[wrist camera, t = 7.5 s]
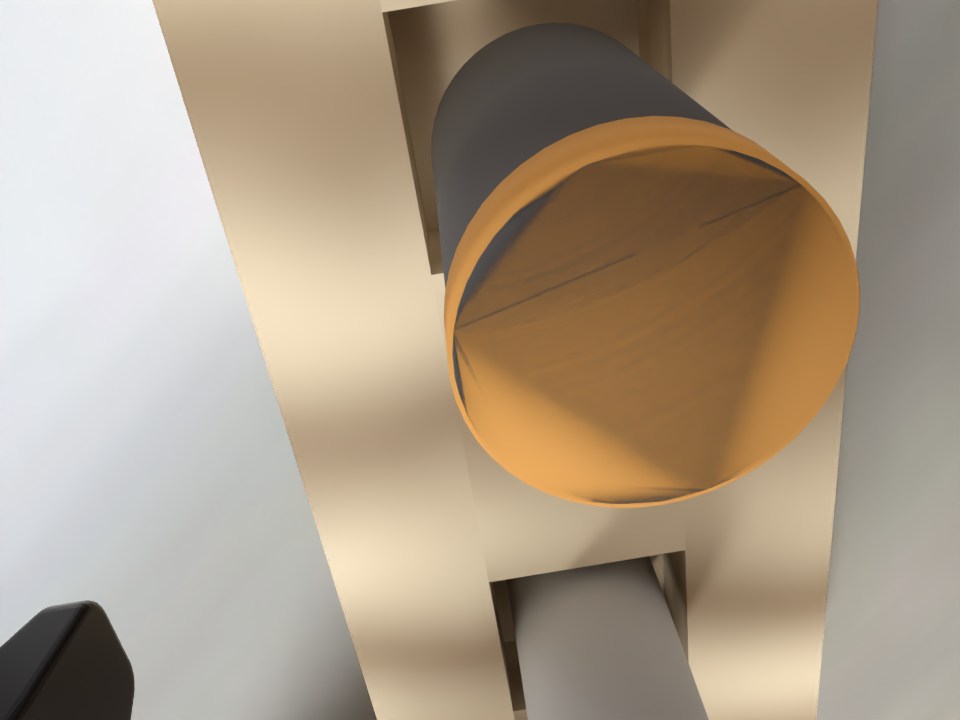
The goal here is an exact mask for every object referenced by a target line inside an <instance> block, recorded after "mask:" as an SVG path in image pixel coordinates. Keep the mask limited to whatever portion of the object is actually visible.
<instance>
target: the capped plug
mask: <svg viewBox="0 0 960 720" xmlns="http://www.w3.org/2000/svg"><path fill="white" fill-rule="evenodd" d="M431 158H432V168H433V177H434V186H435V196H436V205H437V215H438V224H439V234H440V243H441V253H442V262H443V271H444V281H445V297H444V327H445V337H446V348H447V358H448V367H449V376H450V381H451V385H452V389H453V393H454V396H455V400H456V403H457V405H458V407H459V410H460V412H461V414H462V416H463V419H464V421H465V423H466V424H467V426H468V427H469V429H470V431H471V432H472V434H473V435H474V437H475V438H476V440H477V441H478V442H479V444H480V445H481V446H482V447H483V448H484V449H485V451H486V452H487V453H488V454H489V455H490V456H491V457H492V458H493V459H494V460H495V461H496V462H497V463H499V464H500V465H501V466H502V467H503V468H504V469H505V470H507V471H508V472H509V473H511V474H512V475H514V476H515V477H517V478H518V479H520V480H522V481H523V482H525V483H526V484H528V485H530V486H532V487H534V488H536V489H538V490H541V491H543V492H545V493H547V494H550V495H553V496H556V497H559V498H562V499H565V500H568V501H572V502H577V503H581V504H586V505H591V506H601V507H611V508H639V507H648V506H656V505H664V504H668V503H673V502H678V501H682V500H686V499H690V498H693V497H696V496H699V495H702V494H705V493H708V492H711V491H713V490H715V489H718V488H720V487H722V486H725V485H727V484H729V483H732V482H733V481H735V480H737V479H739V478H741V477H742V476H744V475H746V474H748V473H750V472H751V471H753V470H755V469H756V468H758V467H759V466H761V465H762V464H763V463H765V462H766V461H768V460H769V459H771V458H772V457H774V456H775V455H776V454H777V453H778V452H780V451H781V450H782V449H783V448H784V447H786V446H787V445H788V444H789V443H790V442H791V441H793V440H794V439H795V438H796V437H797V435H798V434H799V433H800V432H801V431H802V430H803V429H804V428H805V427H806V426H807V425H808V424H809V423H810V422H811V421H812V419H813V418H814V417H815V415H816V414H817V413H818V411H819V410H820V409H821V408H822V406H823V405H824V404H825V402H826V401H827V399H828V397H829V396H830V394H831V392H832V391H833V389H834V387H835V386H836V384H837V382H838V381H839V378H840V376H841V374H842V372H843V370H844V367H845V365H846V363H847V361H848V358H849V355H850V352H851V349H852V345H853V342H854V339H855V335H856V329H857V323H858V317H859V303H860V286H859V278H858V271H857V264H856V260H855V257H854V254H853V250H852V247H851V244H850V241H849V238H848V236H847V234H846V232H845V230H844V228H843V226H842V224H841V222H840V220H839V218H838V217H837V216H836V214H835V213H834V211H833V210H832V209H831V207H830V206H829V204H828V203H827V202H826V200H825V199H824V198H823V197H822V196H821V195H820V194H819V193H818V192H817V191H816V190H815V189H814V188H813V187H812V186H811V185H810V184H809V183H808V182H807V181H806V180H805V179H804V178H802V177H801V176H800V175H798V174H797V173H796V172H794V171H793V170H792V169H790V168H789V167H788V166H787V165H785V164H784V163H783V162H781V161H780V160H779V159H777V158H776V157H775V156H773V155H772V154H771V153H769V152H768V151H767V150H765V149H764V148H762V147H761V146H760V145H758V144H757V143H755V142H754V141H752V140H750V139H748V138H746V137H744V136H742V135H740V134H738V133H736V132H735V131H733V130H731V129H730V128H729V127H728V126H726V125H725V124H724V123H723V122H721V121H720V120H719V119H717V118H716V117H715V116H714V115H712V114H711V113H710V112H709V111H707V110H706V109H705V108H703V107H702V106H701V105H700V104H698V103H697V102H696V101H695V100H693V99H692V98H691V97H689V96H688V95H687V94H686V93H684V92H683V91H682V90H680V89H679V88H678V87H677V86H675V85H674V84H673V83H672V82H670V81H669V80H668V79H666V78H665V77H664V76H663V75H661V74H660V73H659V72H658V71H656V70H655V69H654V68H652V67H651V66H650V65H649V64H647V63H646V62H645V61H644V60H642V59H641V58H640V57H638V56H637V55H636V54H635V53H633V52H632V51H631V50H629V49H628V48H627V47H625V46H624V45H623V44H621V43H620V42H619V41H617V40H616V39H614V38H612V37H610V36H608V35H606V34H604V33H602V32H600V31H597V30H595V29H592V28H589V27H586V26H581V25H575V24H570V23H545V24H536V25H532V26H527V27H523V28H520V29H517V30H514V31H512V32H509V33H507V34H504V35H502V36H501V37H499V38H497V39H495V40H493V41H491V42H490V43H488V44H487V45H486V46H484V47H483V48H482V49H480V50H479V51H477V52H476V53H475V54H474V55H473V56H472V57H471V58H470V59H469V60H468V61H467V62H466V63H465V64H464V65H463V66H462V67H461V69H460V70H459V71H458V72H457V74H456V75H455V76H454V77H453V79H452V81H451V82H450V84H449V86H448V87H447V89H446V90H445V93H444V95H443V97H442V99H441V101H440V104H439V106H438V109H437V113H436V116H435V119H434V124H433V130H432V136H431Z"/></svg>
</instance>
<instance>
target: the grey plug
mask: <svg viewBox="0 0 960 720" xmlns="http://www.w3.org/2000/svg"><path fill="white" fill-rule="evenodd" d="M507 583H508V590H509V597H510V603H511V610H512V617H513V624H514V630H515V637H516V644H517V650H518V657H519V664H520V670H521V677H522V684H523V691H524V697H525V704H526V711H527V717H528V720H709V719H708V716H707V713H706V710H705V708H704V705H703V702H702V699H701V697H700V694H699V691H698V688H697V686H696V683H695V680H694V677H693V674H692V672H691V669H690V666H689V663H688V661H687V658H686V655H685V652H684V650H683V647H682V644H681V641H680V639H679V636H678V633H677V630H676V628H675V625H674V622H673V619H672V617H671V614H670V611H669V608H668V606H667V603H666V600H665V597H664V594H663V592H662V589H661V586H660V583H659V581H658V578H657V575H656V572H655V570H654V567H653V564H652V561H651V559H650V556H647V557H641V558H635V559H628V560H622V561H616V562H610V563H604V564H598V565H592V566H586V567H580V568H573V569H567V570H561V571H555V572H549V573H543V574H537V575H531V576H525V577H518V578H512V579H507Z"/></svg>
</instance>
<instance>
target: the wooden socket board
mask: <svg viewBox="0 0 960 720" xmlns="http://www.w3.org/2000/svg"><path fill="white" fill-rule="evenodd" d="M152 1H153V4H154V7H155V10H156V14H157V17H158V20H159V23H160V26H161V30H162V33H163V36H164V39H165V42H166V46H167V49H168V52H169V55H170V58H171V62H172V65H173V68H174V71H175V74H176V78H177V81H178V84H179V87H180V90H181V94H182V97H183V100H184V103H185V106H186V110H187V113H188V116H189V119H190V123H191V126H192V129H193V132H194V135H195V139H196V142H197V145H198V148H199V151H200V155H201V158H202V161H203V164H204V167H205V171H206V174H207V177H208V180H209V183H210V187H211V190H212V193H213V196H214V199H215V203H216V206H217V209H218V212H219V215H220V219H221V222H222V225H223V228H224V231H225V235H226V238H227V241H228V244H229V247H230V251H231V254H232V257H233V260H234V263H235V267H236V270H237V273H238V276H239V279H240V283H241V286H242V289H243V292H244V295H245V299H246V302H247V305H248V308H249V311H250V315H251V318H252V321H253V324H254V327H255V331H256V334H257V337H258V340H259V343H260V347H261V350H262V353H263V356H264V359H265V363H266V366H267V369H268V372H269V375H270V379H271V382H272V385H273V388H274V392H275V395H276V398H277V401H278V404H279V408H280V411H281V414H282V417H283V420H284V424H285V427H286V430H287V433H288V436H289V440H290V443H291V446H292V449H293V452H294V456H295V459H296V462H297V465H298V468H299V472H300V475H301V478H302V481H303V484H304V488H305V491H306V494H307V497H308V500H309V504H310V507H311V510H312V513H313V516H314V520H315V523H316V526H317V529H318V532H319V536H320V539H321V542H322V545H323V548H324V552H325V555H326V558H327V561H328V564H329V568H330V571H331V574H332V577H333V580H334V584H335V587H336V590H337V593H338V596H339V600H340V603H341V606H342V609H343V612H344V616H345V619H346V622H347V625H348V628H349V632H350V635H351V638H352V641H353V644H354V648H355V651H356V654H357V657H358V660H359V664H360V667H361V670H362V673H363V677H364V680H365V683H366V686H367V689H368V693H369V696H370V699H371V702H372V705H373V709H374V712H375V715H376V718H377V720H528V717H527V711H526V704H525V697H524V691H523V684H522V677H521V670H520V664H519V657H518V650H517V644H516V637H515V630H514V624H513V617H512V610H511V603H510V597H509V590H508V583H507V579H512V578H518V577H525V576H531V575H537V574H543V573H549V572H555V571H561V570H567V569H573V568H580V567H586V566H592V565H598V564H604V563H610V562H616V561H622V560H628V559H635V558H641V557H647V556H650V559H651V561H652V564H653V567H654V570H655V572H656V575H657V578H658V581H659V583H660V586H661V589H662V592H663V594H664V597H665V600H666V603H667V606H668V608H669V611H670V614H671V617H672V619H673V622H674V625H675V628H676V630H677V633H678V636H679V639H680V641H681V644H682V647H683V650H684V652H685V655H686V658H687V661H688V663H689V666H690V669H691V672H692V674H693V677H694V680H695V683H696V686H697V688H698V691H699V694H700V697H701V699H702V702H703V705H704V708H705V710H706V713H707V716H708V719H709V720H816V716H817V704H818V693H819V681H820V670H821V658H822V646H823V635H824V623H825V612H826V600H827V588H828V577H829V565H830V554H831V542H832V531H833V519H834V507H835V496H836V484H837V473H838V461H839V449H840V438H841V426H842V415H843V403H844V391H845V380H846V368H847V363H846V365H845V367H844V370H843V372H842V374H841V376H840V378H839V381H838V382H837V384H836V386H835V387H834V389H833V391H832V392H831V394H830V396H829V397H828V399H827V401H826V402H825V404H824V405H823V406H822V408H821V409H820V410H819V411H818V413H817V414H816V415H815V417H814V418H813V419H812V421H811V422H810V423H809V424H808V425H807V426H806V427H805V428H804V429H803V430H802V431H801V432H800V433H799V434H798V435H797V437H796V438H795V439H794V440H793V441H791V442H790V443H789V444H788V445H787V446H786V447H784V448H783V449H782V450H781V451H780V452H778V453H777V454H776V455H775V456H774V457H772V458H771V459H769V460H768V461H766V462H765V463H763V464H762V465H761V466H759V467H758V468H756V469H755V470H753V471H751V472H750V473H748V474H746V475H744V476H742V477H741V478H739V479H737V480H735V481H733V482H732V483H729V484H727V485H725V486H722V487H720V488H718V489H715V490H713V491H711V492H708V493H705V494H702V495H699V496H696V497H693V498H690V499H686V500H682V501H678V502H673V503H668V504H664V505H656V506H648V507H639V508H611V507H601V506H591V505H586V504H581V503H577V502H572V501H568V500H565V499H562V498H559V497H556V496H553V495H550V494H547V493H545V492H543V491H541V490H538V489H536V488H534V487H532V486H530V485H528V484H526V483H525V482H523V481H522V480H520V479H518V478H517V477H515V476H514V475H512V474H511V473H509V472H508V471H507V470H505V469H504V468H503V467H502V466H501V465H500V464H499V463H497V462H496V461H495V460H494V459H493V458H492V457H491V456H490V455H489V454H488V453H487V452H486V451H485V449H484V448H483V447H482V446H481V445H480V444H479V442H478V441H477V440H476V438H475V437H474V435H473V434H472V432H471V431H470V429H469V427H468V426H467V424H466V423H465V421H464V419H463V416H462V414H461V412H460V410H459V407H458V405H457V403H456V400H455V396H454V393H453V389H452V385H451V381H450V376H449V367H448V358H447V348H446V337H445V327H444V297H445V281H444V271H443V262H442V253H441V243H440V234H439V224H438V215H437V205H436V196H435V186H434V177H433V168H432V158H431V136H432V130H433V124H434V119H435V116H436V113H437V109H438V106H439V104H440V101H441V99H442V97H443V95H444V93H445V90H446V89H447V87H448V86H449V84H450V82H451V81H452V79H453V77H454V76H455V75H456V74H457V72H458V71H459V70H460V69H461V67H462V66H463V65H464V64H465V63H466V62H467V61H468V60H469V59H470V58H471V57H472V56H473V55H474V54H475V53H476V52H477V51H479V50H480V49H482V48H483V47H484V46H486V45H487V44H488V43H490V42H491V41H493V40H495V39H497V38H499V37H501V36H502V35H504V34H507V33H509V32H512V31H514V30H517V29H520V28H523V27H527V26H532V25H536V24H545V23H570V24H575V25H581V26H586V27H589V28H592V29H595V30H597V31H600V32H602V33H604V34H606V35H608V36H610V37H612V38H614V39H616V40H617V41H619V42H620V43H621V44H623V45H624V46H625V47H627V48H628V49H629V50H631V51H632V52H633V53H635V54H636V55H637V56H638V57H640V58H641V59H642V60H644V61H645V62H646V63H647V64H649V65H650V66H651V67H652V68H654V69H655V70H656V71H658V72H659V73H660V74H661V75H663V76H664V77H665V78H666V79H668V80H669V81H670V82H672V83H673V84H674V85H675V86H677V87H678V88H679V89H680V90H682V91H683V92H684V93H686V94H687V95H688V96H689V97H691V98H692V99H693V100H695V101H696V102H697V103H698V104H700V105H701V106H702V107H703V108H705V109H706V110H707V111H709V112H710V113H711V114H712V115H714V116H715V117H716V118H717V119H719V120H720V121H721V122H723V123H724V124H725V125H726V126H728V127H729V128H730V129H731V130H733V131H735V132H736V133H738V134H740V135H742V136H744V137H746V138H748V139H750V140H752V141H754V142H755V143H757V144H758V145H760V146H761V147H762V148H764V149H765V150H767V151H768V152H769V153H771V154H772V155H773V156H775V157H776V158H777V159H779V160H780V161H781V162H783V163H784V164H785V165H787V166H788V167H789V168H790V169H792V170H793V171H794V172H796V173H797V174H798V175H800V176H801V177H802V178H804V179H805V180H806V181H807V182H808V183H809V184H810V185H811V186H812V187H813V188H814V189H815V190H816V191H817V192H818V193H819V194H820V195H821V196H822V197H823V198H824V199H825V200H826V202H827V203H828V204H829V206H830V207H831V209H832V210H833V211H834V213H835V214H836V216H837V217H838V218H839V220H840V222H841V224H842V226H843V228H844V230H845V232H846V234H847V236H848V238H849V241H850V244H851V247H852V250H853V254H854V257H855V260H856V252H857V241H858V229H859V217H860V206H861V194H862V183H863V171H864V160H865V148H866V136H867V125H868V113H869V102H870V90H871V78H872V67H873V55H874V44H875V32H876V20H877V9H878V0H152Z"/></svg>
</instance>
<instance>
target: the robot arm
mask: <svg viewBox="0 0 960 720" xmlns="http://www.w3.org/2000/svg"><path fill="white" fill-rule="evenodd" d="M133 698H134V674H133V670H132V666H131V663H130V661H129V659H128V657H127V655H126V653H125V651H124V649H123V647H122V645H121V643H120V641H119V639H118V637H117V635H116V633H115V631H114V629H113V627H112V625H111V623H110V621H109V619H108V617H107V615H106V613H105V611H104V610H103V608H102V607H101V606H100V605H99V604H98V603H96V602H94V601H80V602H73V603H67V604H61V605H55V606H51V607H48V608H45V609H43V610H42V611H40V612H39V613H38V614H37V615H35V616H34V617H33V618H32V619H31V620H30V621H29V622H28V623H27V624H25V625H24V626H23V627H22V628H21V629H20V630H19V631H18V632H17V633H15V634H14V635H13V636H12V637H11V638H10V639H9V640H8V641H7V642H5V643H4V644H3V645H2V646H1V647H0V720H131V713H132V705H133Z"/></svg>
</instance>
